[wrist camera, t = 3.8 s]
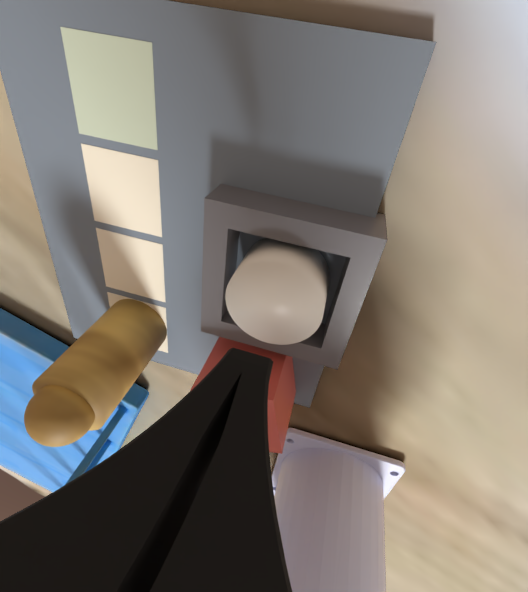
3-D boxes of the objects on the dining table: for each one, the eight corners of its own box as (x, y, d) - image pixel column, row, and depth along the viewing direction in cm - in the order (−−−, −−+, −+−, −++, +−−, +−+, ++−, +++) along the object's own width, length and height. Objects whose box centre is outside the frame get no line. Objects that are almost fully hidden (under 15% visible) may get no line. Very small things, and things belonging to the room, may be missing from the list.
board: (311, 399, 21) (309, 408, 21) (80, 331, 23) (73, 337, 23) (433, 42, 11) (436, 42, 10) (-13, -27, 13) (-28, -31, 12)
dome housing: (341, 336, 18) (337, 369, 16) (217, 303, 19) (200, 331, 17) (385, 214, 14) (387, 240, 12) (225, 179, 15) (204, 197, 13)
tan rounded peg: (168, 353, 21) (84, 475, 15) (115, 337, 22) (13, 450, 16) (165, 308, 19) (67, 429, 13) (107, 291, 20) (-15, 401, 13)
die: (296, 391, 20) (281, 456, 17) (232, 384, 22) (207, 444, 18) (290, 340, 18) (272, 403, 15) (220, 334, 19) (189, 392, 16)
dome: (318, 320, 17) (311, 355, 15) (239, 299, 17) (222, 330, 15) (340, 247, 14) (335, 277, 12) (247, 225, 15) (228, 251, 13)
